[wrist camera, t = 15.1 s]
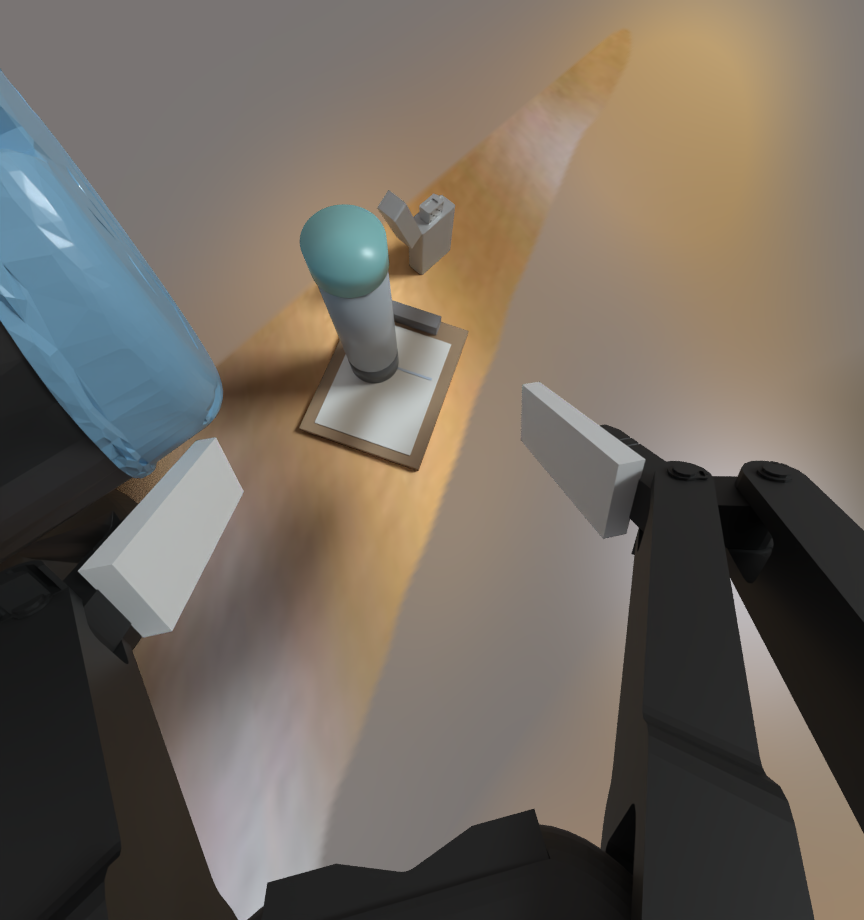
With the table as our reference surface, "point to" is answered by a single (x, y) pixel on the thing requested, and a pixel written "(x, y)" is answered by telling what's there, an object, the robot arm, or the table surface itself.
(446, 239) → the lighter
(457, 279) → the table surface
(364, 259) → the grey teal cylinder
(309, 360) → the table surface
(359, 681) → the table surface
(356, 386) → the clipboard
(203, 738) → the table surface
